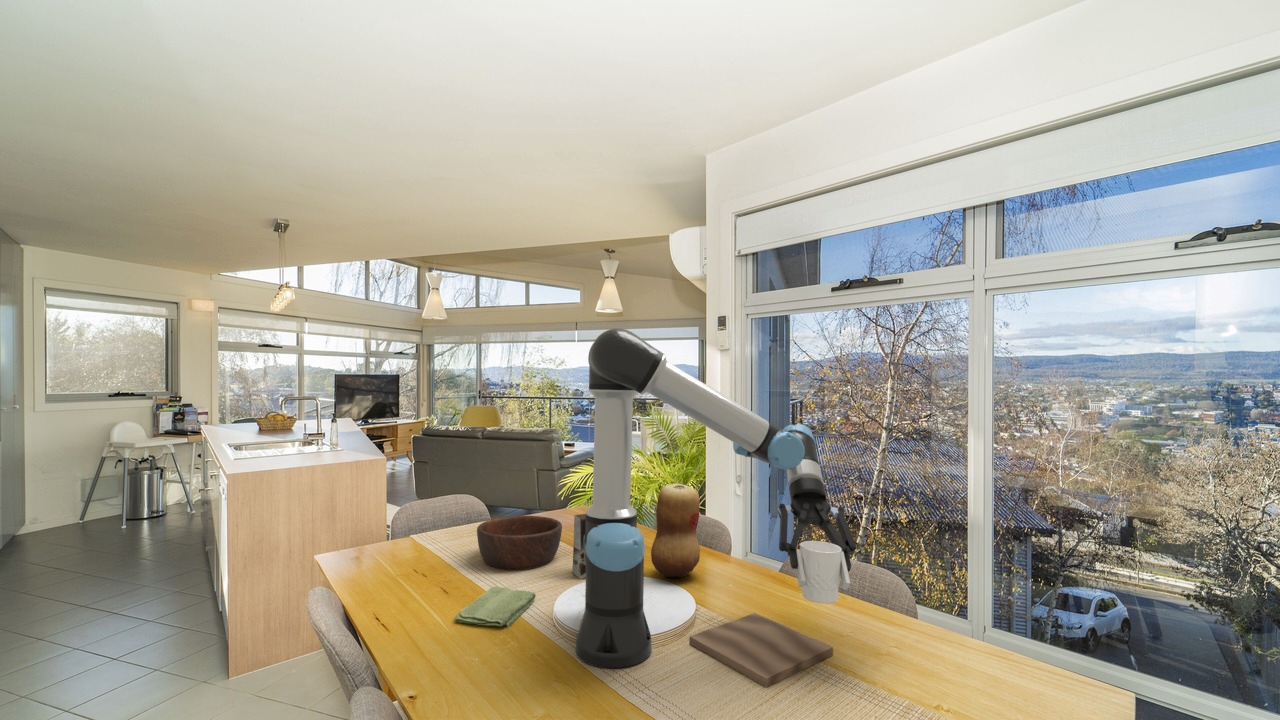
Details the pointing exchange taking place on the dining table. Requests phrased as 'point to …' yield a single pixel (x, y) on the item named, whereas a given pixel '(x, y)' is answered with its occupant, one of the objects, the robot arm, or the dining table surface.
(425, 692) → the dining table surface
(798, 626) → the dining table surface
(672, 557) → the butternut squash
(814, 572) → the white cup
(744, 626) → the walnut board
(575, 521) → the coffee box
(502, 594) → the washcloth
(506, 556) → the wooden bowl
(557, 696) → the dining table surface
